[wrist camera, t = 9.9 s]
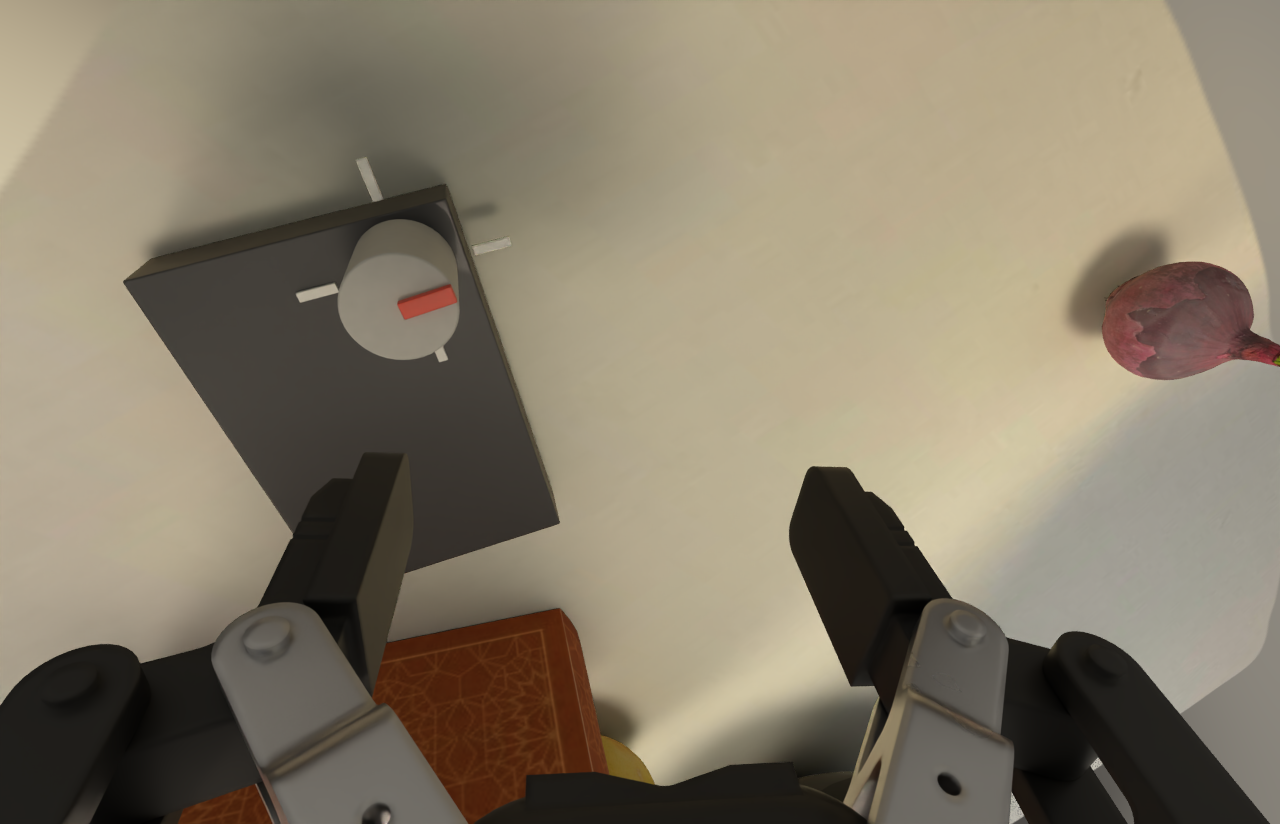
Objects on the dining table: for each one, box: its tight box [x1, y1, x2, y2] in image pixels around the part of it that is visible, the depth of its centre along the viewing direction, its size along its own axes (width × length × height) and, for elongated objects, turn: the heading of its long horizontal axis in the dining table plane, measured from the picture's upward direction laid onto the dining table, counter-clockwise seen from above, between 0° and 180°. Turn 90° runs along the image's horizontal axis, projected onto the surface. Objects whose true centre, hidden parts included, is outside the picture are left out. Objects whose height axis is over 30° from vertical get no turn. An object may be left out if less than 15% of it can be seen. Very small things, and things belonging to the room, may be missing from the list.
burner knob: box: [338, 219, 460, 360], centre depth 22 cm, size 4×4×4 cm
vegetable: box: [1102, 262, 1280, 380], centre depth 32 cm, size 6×6×10 cm
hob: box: [123, 157, 560, 573], centre depth 27 cm, size 18×13×3 cm
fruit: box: [601, 735, 655, 785], centre depth 41 cm, size 10×11×10 cm
